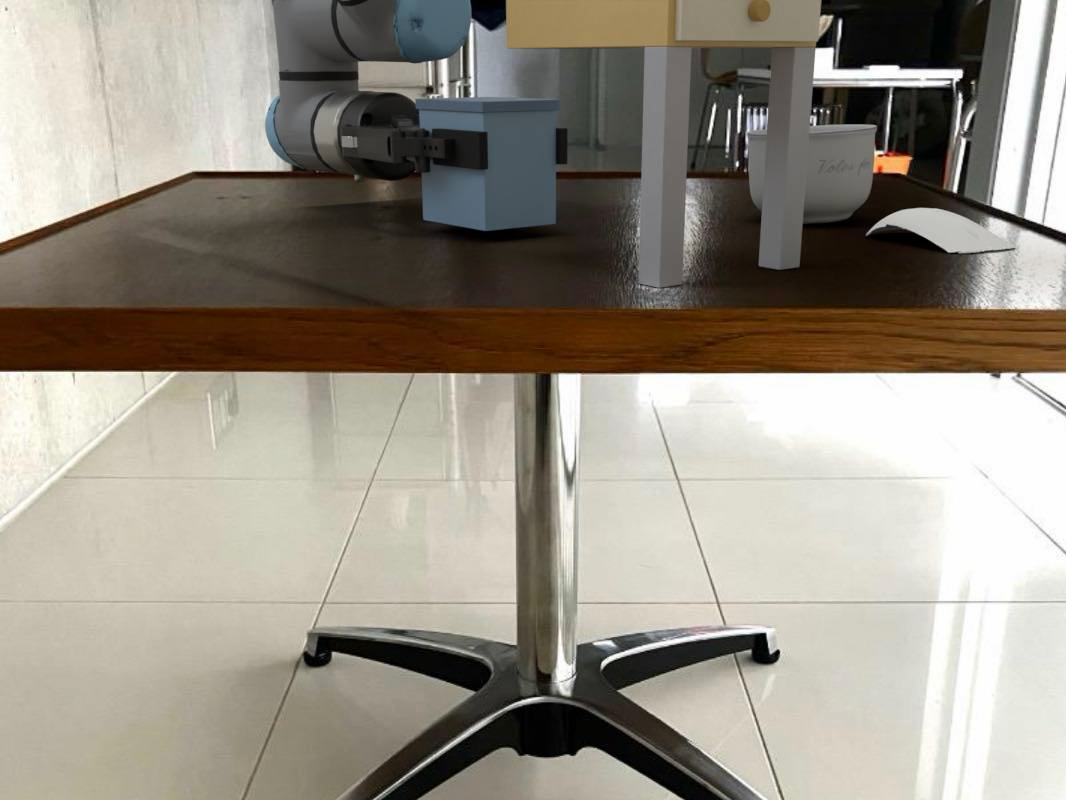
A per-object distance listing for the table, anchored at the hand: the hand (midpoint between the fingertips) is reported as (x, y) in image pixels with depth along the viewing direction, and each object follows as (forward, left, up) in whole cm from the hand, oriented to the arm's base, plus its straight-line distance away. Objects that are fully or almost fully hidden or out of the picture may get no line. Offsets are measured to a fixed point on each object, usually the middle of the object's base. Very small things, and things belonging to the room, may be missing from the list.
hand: (524, 148), depth 94 cm
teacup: (+27, +9, -7) cm, 29 cm away
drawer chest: (+8, -13, -7) cm, 16 cm away
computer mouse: (+32, -6, -7) cm, 33 cm away
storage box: (-3, +4, -6) cm, 8 cm away
